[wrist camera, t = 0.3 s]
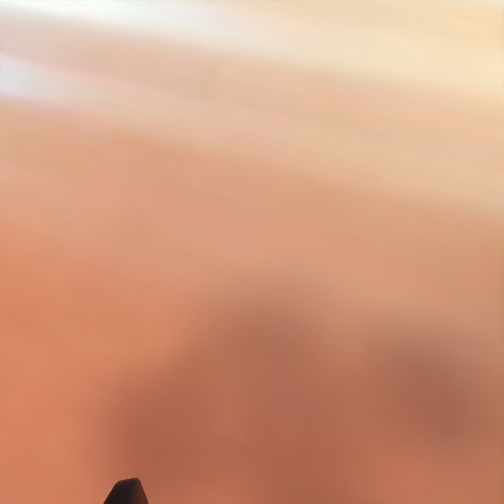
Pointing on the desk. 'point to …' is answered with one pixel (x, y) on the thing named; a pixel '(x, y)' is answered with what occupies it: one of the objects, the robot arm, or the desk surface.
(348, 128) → the desk surface
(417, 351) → the desk surface
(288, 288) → the desk surface
